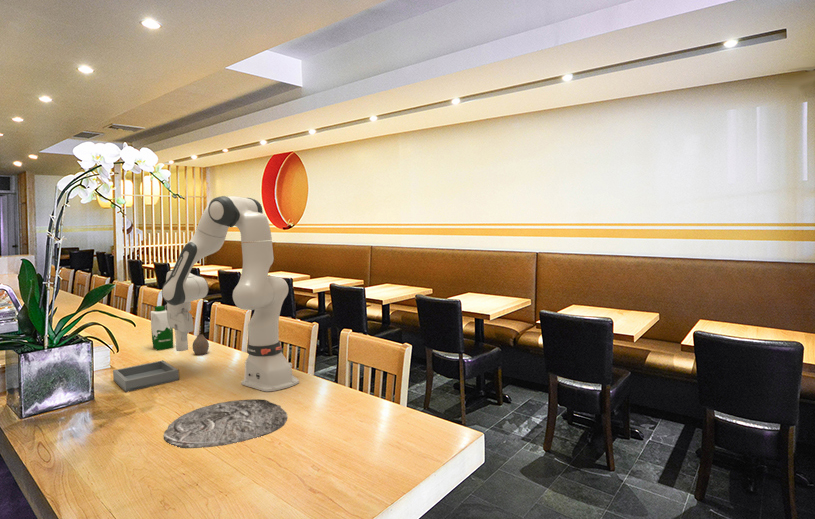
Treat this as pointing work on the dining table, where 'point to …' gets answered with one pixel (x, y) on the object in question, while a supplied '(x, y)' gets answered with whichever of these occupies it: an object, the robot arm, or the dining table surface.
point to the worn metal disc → (225, 423)
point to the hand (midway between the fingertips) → (181, 339)
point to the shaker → (180, 344)
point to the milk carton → (161, 329)
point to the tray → (145, 375)
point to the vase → (200, 345)
